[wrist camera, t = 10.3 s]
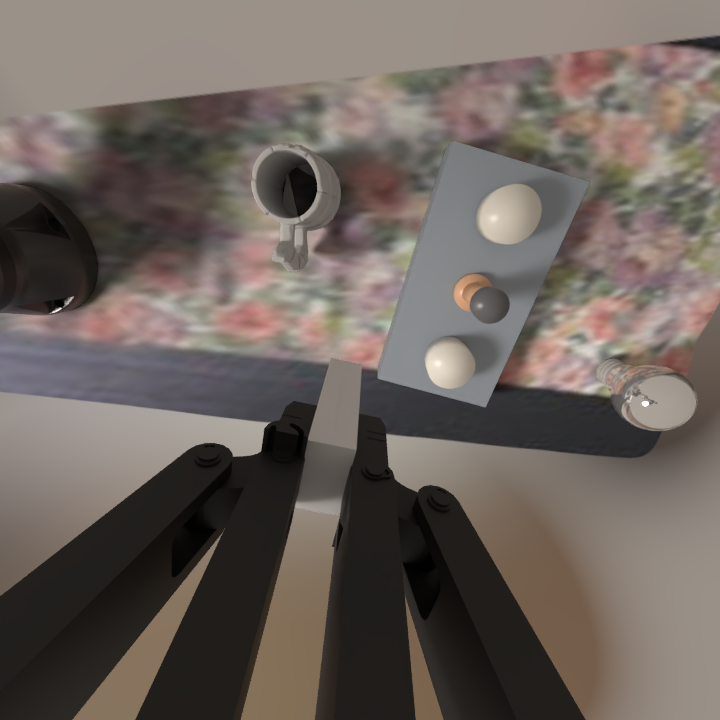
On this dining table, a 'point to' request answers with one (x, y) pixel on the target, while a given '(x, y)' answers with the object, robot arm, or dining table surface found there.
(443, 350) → the knob
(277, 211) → the mug
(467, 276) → the ball
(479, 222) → the knob
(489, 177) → the panel
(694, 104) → the dining table surface
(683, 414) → the light bulb
